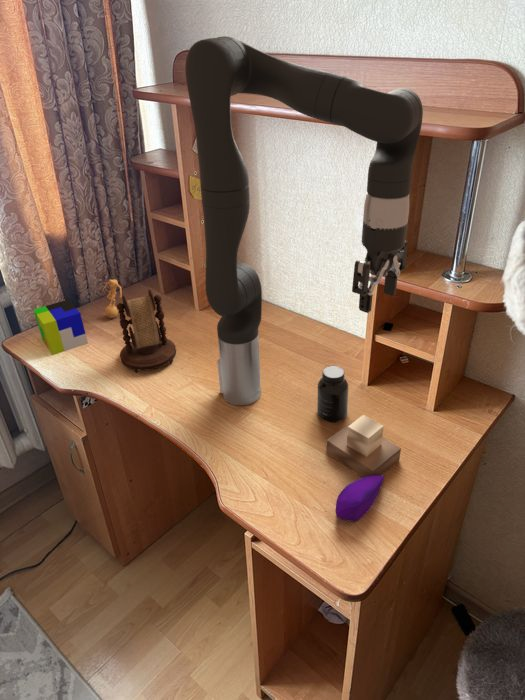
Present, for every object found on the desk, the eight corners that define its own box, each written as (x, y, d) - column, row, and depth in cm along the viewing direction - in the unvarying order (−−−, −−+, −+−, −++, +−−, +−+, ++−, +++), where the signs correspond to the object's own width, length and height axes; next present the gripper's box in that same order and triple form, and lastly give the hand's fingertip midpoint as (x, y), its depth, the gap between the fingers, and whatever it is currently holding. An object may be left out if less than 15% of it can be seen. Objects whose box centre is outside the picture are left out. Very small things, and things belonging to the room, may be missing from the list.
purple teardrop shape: (395, 472, 103) (350, 514, 94) (391, 491, 106) (346, 533, 96) (374, 460, 106) (328, 499, 96) (370, 479, 109) (325, 519, 99)
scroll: (128, 380, 137) (113, 312, 126) (116, 352, 149) (102, 287, 138) (183, 365, 142) (174, 298, 131) (168, 339, 154) (158, 275, 143)
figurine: (98, 316, 166) (90, 281, 159) (113, 308, 170) (106, 273, 163) (117, 323, 162) (109, 287, 155) (132, 315, 166) (125, 280, 159)
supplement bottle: (327, 400, 128) (329, 358, 122) (352, 411, 124) (355, 369, 118) (311, 415, 124) (312, 373, 117) (336, 427, 120) (338, 384, 114)
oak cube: (346, 445, 110) (347, 426, 108) (361, 433, 113) (363, 414, 110) (366, 457, 107) (368, 438, 105) (381, 444, 110) (383, 425, 107)
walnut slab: (326, 453, 114) (326, 439, 112) (354, 433, 119) (355, 420, 117) (371, 485, 106) (372, 471, 104) (398, 462, 111) (401, 448, 109)
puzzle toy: (88, 343, 153) (80, 312, 148) (52, 355, 149) (43, 324, 143) (76, 328, 160) (68, 299, 155) (42, 339, 156) (33, 309, 150)
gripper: (388, 203, 99) (380, 283, 108) (343, 226, 90) (338, 310, 99) (425, 212, 94) (414, 294, 103) (382, 236, 86) (373, 323, 95)
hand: (377, 302), depth 101 cm, fingers open, 8 cm apart
